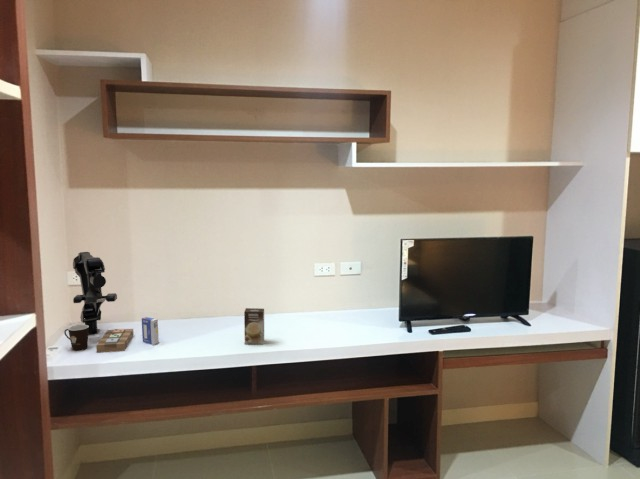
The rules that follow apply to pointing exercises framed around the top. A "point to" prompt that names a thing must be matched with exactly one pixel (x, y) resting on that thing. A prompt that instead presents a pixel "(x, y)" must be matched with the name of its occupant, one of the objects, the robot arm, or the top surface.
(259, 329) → the coffee box
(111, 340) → the one-pip button
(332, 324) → the top surface
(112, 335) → the three-pip button
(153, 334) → the walkman
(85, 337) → the coffee mug
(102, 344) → the button board
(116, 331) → the two-pip button
